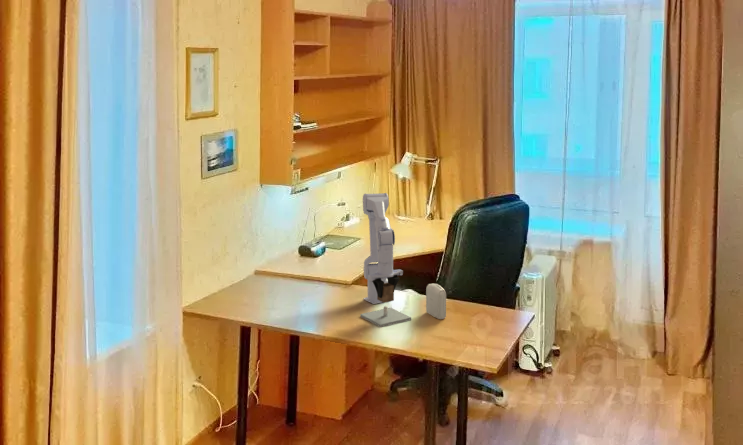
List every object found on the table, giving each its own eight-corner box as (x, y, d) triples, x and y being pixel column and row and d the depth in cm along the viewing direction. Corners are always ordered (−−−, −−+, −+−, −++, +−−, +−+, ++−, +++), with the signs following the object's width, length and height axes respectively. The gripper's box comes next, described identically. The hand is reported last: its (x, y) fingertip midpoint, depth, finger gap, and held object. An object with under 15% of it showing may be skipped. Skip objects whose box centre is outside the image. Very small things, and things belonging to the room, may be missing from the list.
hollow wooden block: (387, 297, 323) (387, 282, 322) (393, 300, 320) (393, 285, 318) (377, 299, 321) (377, 284, 320) (383, 302, 317) (383, 287, 316)
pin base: (390, 309, 331) (390, 298, 330) (411, 319, 320) (411, 307, 319) (360, 316, 324) (360, 304, 323) (380, 327, 313) (380, 314, 311)
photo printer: (424, 312, 329) (424, 281, 326) (434, 310, 330) (434, 280, 328) (437, 320, 320) (438, 289, 317) (447, 318, 321) (448, 287, 319)
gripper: (375, 266, 310) (375, 302, 313) (407, 260, 317) (407, 295, 321) (364, 262, 316) (365, 297, 319) (396, 256, 323) (396, 290, 326)
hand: (385, 296), depth 320 cm, fingers closed on hollow wooden block, 4 cm apart
